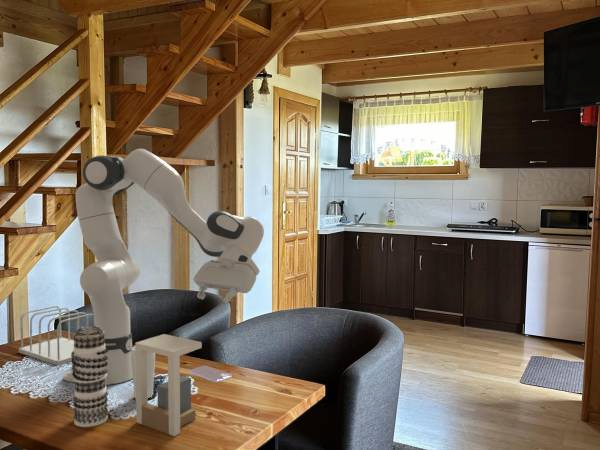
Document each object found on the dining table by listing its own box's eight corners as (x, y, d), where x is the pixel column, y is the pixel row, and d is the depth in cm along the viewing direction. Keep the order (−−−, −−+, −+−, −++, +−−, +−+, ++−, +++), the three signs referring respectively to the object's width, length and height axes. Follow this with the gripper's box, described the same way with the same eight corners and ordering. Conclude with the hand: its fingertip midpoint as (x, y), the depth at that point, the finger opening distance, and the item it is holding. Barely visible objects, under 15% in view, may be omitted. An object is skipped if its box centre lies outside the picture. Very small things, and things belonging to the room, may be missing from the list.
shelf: (168, 407, 150) (168, 332, 149) (206, 419, 143) (205, 340, 141) (136, 422, 140) (135, 342, 139) (174, 436, 133) (173, 352, 131)
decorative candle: (102, 409, 148) (101, 321, 146) (114, 421, 141) (112, 328, 139) (68, 418, 143) (66, 326, 141) (78, 430, 135) (76, 334, 134)
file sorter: (18, 353, 198) (17, 312, 196) (61, 342, 212) (60, 303, 211) (58, 366, 184) (56, 321, 183) (101, 353, 198) (100, 312, 197)
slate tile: (182, 410, 147) (182, 375, 147) (191, 413, 146) (190, 377, 145) (157, 422, 140) (157, 385, 139) (166, 425, 138) (166, 388, 137)
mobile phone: (205, 364, 185) (233, 374, 175) (205, 367, 185) (233, 377, 175) (187, 369, 179) (215, 381, 169) (187, 372, 179) (215, 383, 169)
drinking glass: (142, 403, 152) (142, 352, 151) (126, 398, 156) (125, 348, 155) (160, 396, 158) (159, 346, 157) (144, 391, 162) (144, 342, 161)
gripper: (202, 253, 166) (180, 289, 159) (255, 258, 155) (233, 297, 148) (212, 266, 170) (191, 301, 163) (264, 272, 159) (243, 310, 152)
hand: (211, 299), depth 155 cm, fingers open, 8 cm apart
